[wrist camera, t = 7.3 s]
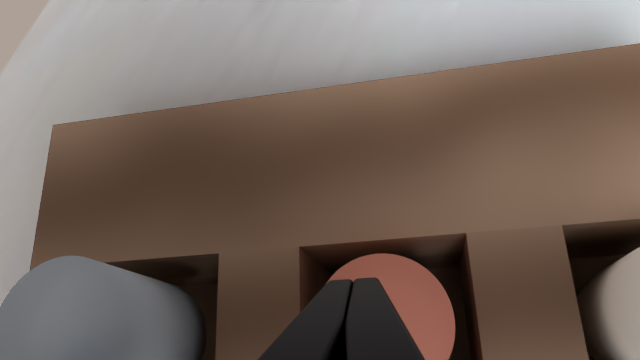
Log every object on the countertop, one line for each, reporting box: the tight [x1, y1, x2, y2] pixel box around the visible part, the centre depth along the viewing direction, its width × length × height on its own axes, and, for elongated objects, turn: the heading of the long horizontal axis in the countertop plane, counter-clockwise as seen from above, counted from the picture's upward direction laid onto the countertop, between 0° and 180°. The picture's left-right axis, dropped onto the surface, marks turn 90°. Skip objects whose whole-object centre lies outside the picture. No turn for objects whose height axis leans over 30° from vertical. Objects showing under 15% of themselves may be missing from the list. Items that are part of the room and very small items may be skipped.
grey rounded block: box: [0, 256, 206, 360], centre depth 14 cm, size 3×3×4 cm
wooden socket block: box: [30, 43, 640, 360], centre depth 17 cm, size 10×22×6 cm, turn 92°
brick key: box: [327, 253, 455, 360], centre depth 14 cm, size 3×3×4 cm
